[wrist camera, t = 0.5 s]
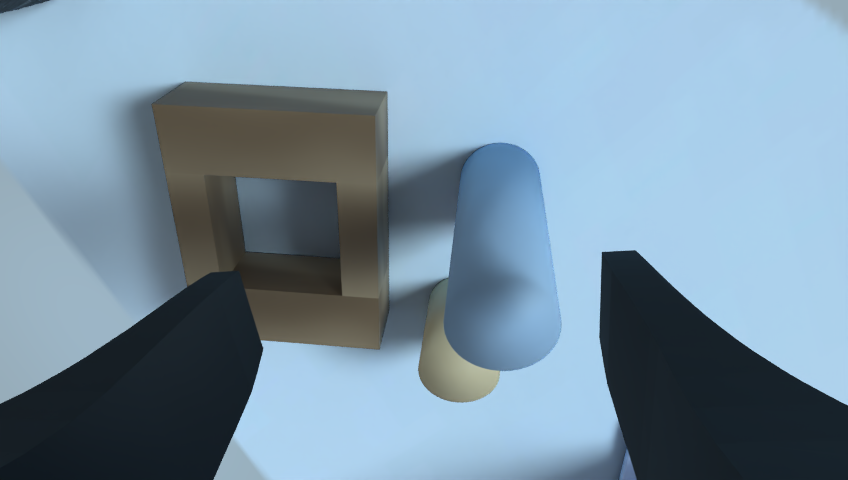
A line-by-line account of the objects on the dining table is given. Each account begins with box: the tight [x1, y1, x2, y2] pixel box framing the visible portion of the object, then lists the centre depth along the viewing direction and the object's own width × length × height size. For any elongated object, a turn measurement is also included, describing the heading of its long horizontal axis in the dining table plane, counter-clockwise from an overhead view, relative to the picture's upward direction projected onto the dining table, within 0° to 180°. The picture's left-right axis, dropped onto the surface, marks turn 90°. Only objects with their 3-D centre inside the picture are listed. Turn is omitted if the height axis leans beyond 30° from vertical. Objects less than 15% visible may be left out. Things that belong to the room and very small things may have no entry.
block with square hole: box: [152, 82, 389, 349], centre depth 23 cm, size 9×7×2 cm
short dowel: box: [418, 278, 500, 402], centre depth 24 cm, size 3×3×4 cm
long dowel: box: [443, 143, 561, 371], centre depth 19 cm, size 3×3×8 cm
